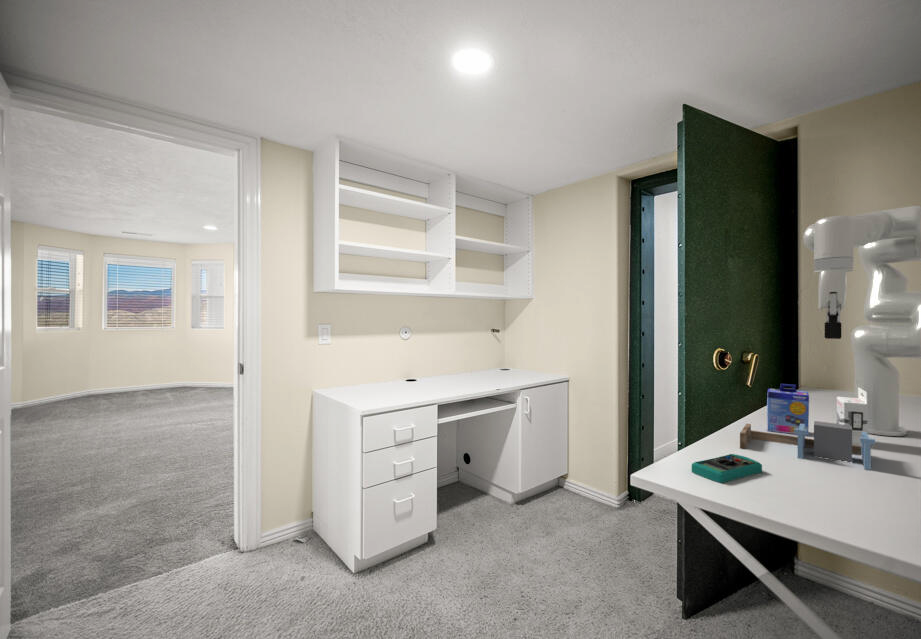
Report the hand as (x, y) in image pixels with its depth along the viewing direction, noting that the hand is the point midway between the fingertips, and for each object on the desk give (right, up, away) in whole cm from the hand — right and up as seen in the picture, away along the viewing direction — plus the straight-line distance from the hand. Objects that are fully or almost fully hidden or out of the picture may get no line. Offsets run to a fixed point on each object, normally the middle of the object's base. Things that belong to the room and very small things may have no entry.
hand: (832, 338), depth 109 cm
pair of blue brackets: (-3, -29, -3) cm, 30 cm away
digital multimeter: (-34, -31, -12) cm, 47 cm away
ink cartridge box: (+3, -29, +19) cm, 34 cm away
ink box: (+12, -29, +8) cm, 32 cm away
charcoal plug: (-3, -29, -3) cm, 30 cm away
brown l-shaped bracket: (-7, -29, +1) cm, 30 cm away
